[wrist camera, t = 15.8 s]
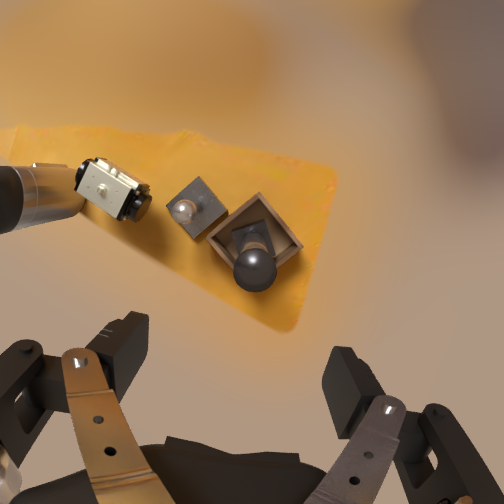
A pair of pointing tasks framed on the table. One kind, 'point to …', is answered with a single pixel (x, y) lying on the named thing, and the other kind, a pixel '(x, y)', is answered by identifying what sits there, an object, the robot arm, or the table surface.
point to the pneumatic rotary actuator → (113, 189)
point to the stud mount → (196, 207)
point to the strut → (254, 257)
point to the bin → (249, 213)
